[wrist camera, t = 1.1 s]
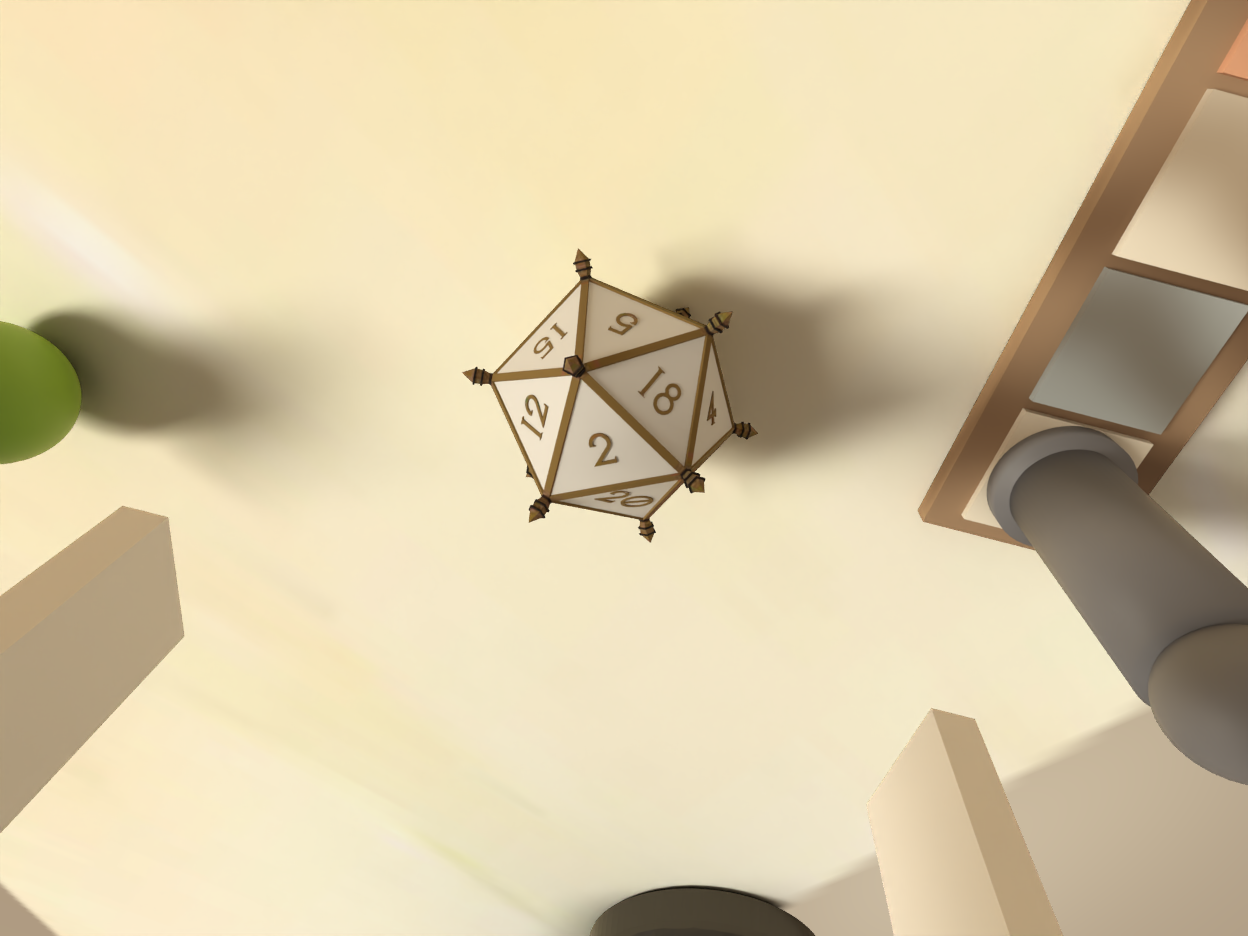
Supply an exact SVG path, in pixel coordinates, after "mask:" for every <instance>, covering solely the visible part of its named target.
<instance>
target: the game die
mask: <svg viewBox="0 0 1248 936" xmlns="http://www.w3.org/2000/svg"><path fill="white" fill-rule="evenodd" d="M590 260H591V259H588V258H587V257H586V256H585V255H584V254H583V253H582V252H581V251H580V250H579V249H578V251H577V255H576V259H575V262H574V263H573V264H575V266H576V269H577V270H575V271H576V272H578V274H579V276H580V281H579V282H578V283H577V284H576V286H575V287H574V288H573V289H572V290H571V291H570V292H569V293H568V294H567V295H566V296H565V297H564V298H563V299H562V300H561V302H560V303H559V304H558V305H557V306H556V307H555V308H554V309H553V310H552V311H551V312H550V313H549V314H548V315H547V317H546V318H545V319H544V320H543V321H542V322H541V323H540V324H539V325H538V326H537V327H536V328H535V329H534V330H533V331H532V333H531V334H530V335H529V336H528V337H527V338H526V339H525V340H524V341H523V342H522V343H521V344H520V345H519V346H518V348H517V349H516V350H515V351H514V352H513V353H512V354H511V355H510V356H509V357H508V358H507V359H506V360H505V361H504V362H503V364H502V365H501V366H500V367H499V368H498V369H497V370H496V371H495V372H494V373H493V374H491V373H488V372H486V371H485V369H483V370H480V369H477V368H478V367H476V368H475V369H472V370H469V371H465V372H462V373H463V374H464V375H465V376H466V377H467V378H468V379H469V380H470V381H472V382H473V385H474V383H477V384H480V386H482V384H490V385H491V386H492V388H493V391H494V393H495V395H496V397H497V399H498V402H499V404H500V406H501V408H502V410H503V412H504V415H505V417H506V419H507V421H508V423H509V426H510V428H511V430H512V432H513V434H514V437H515V439H516V441H517V443H518V445H519V448H520V450H521V452H522V454H523V456H524V459H525V461H526V463H527V472H526V473H527V475H526V477H532V478H533V479H534V480H535V483H536V485H537V487H538V489H539V491H540V494H541V496H542V497H541V498H539V499H538V500H537V499H536V500H535V502H534V505H531V506H530V508H529V511H530V516H529V522H532V521H534V520H537V519H540V518H545V516H544V515H545V514H546V512H549V509H548V508H549V505H550V503H557V504H562V505H567V506H572V507H578V508H583V509H588V510H593V511H598V512H603V513H609V514H614V515H619V516H624V517H629V518H634V519H639V521H640V526H639V527H638V528H639V529H640V531H641V533H640V535H642V536H643V537H644V538H646V539H647V540H648V541H649V542H650V543H651V540H652V537H653V535H654V533H656V532H655V530H654V528H653V527H654V525H653V523H652V522H650V520H649V518H650V517H651V516H652V515H653V514H654V513H655V512H656V511H657V510H658V509H659V508H660V507H661V505H662V504H663V503H664V502H665V501H666V500H667V499H668V498H669V497H670V496H671V495H672V494H673V493H674V492H675V491H676V490H677V489H678V488H679V487H680V486H681V485H682V484H683V483H685V486H686V488H689V490H690V493H693V492H703V493H705V492H704V481H705V478H703V477H700V474H699V473H695V471H696V470H697V469H698V468H699V467H700V466H701V465H702V464H703V463H704V462H705V461H706V460H707V459H708V458H709V457H710V456H711V455H712V454H713V453H714V452H715V451H716V450H717V449H718V448H719V446H720V445H721V444H722V443H723V442H724V441H725V440H726V439H727V438H728V437H729V436H730V435H731V434H734V433H735V434H737V436H738V437H740V438H741V437H744V438H745V439H748V438H749V437H751V436H754V435H756V434H758V433H757V432H756V431H755V430H754V429H753V428H752V427H751V425H750V423H748V424H744V422H741V423H739V424H735V423H734V421H733V417H732V412H731V408H730V404H729V400H728V396H727V392H726V388H725V384H724V380H723V376H722V372H721V368H720V363H719V359H718V355H717V351H716V347H715V343H714V339H713V335H714V334H715V333H718V332H720V333H722V330H723V329H725V328H727V329H728V328H729V325H728V324H729V321H730V318H731V315H732V312H733V311H732V312H724V313H721V312H718V313H716V314H715V317H713V318H711V319H709V323H708V324H707V325H704V324H701V323H699V322H696V321H694V320H692V319H689V317H690V316H691V315H690V314H689V307H688V308H681V309H676V313H675V312H673V311H670V310H668V309H665V308H663V307H661V306H658V305H656V304H653V303H651V302H649V301H646V300H644V299H642V298H639V297H637V296H634V295H632V294H630V293H627V292H625V291H622V290H620V289H618V288H615V287H613V286H611V285H608V284H606V283H603V282H601V281H599V280H596V279H594V278H592V277H591V275H590V273H591V268H592V266H591V267H590V262H589V261H590Z"/></svg>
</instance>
